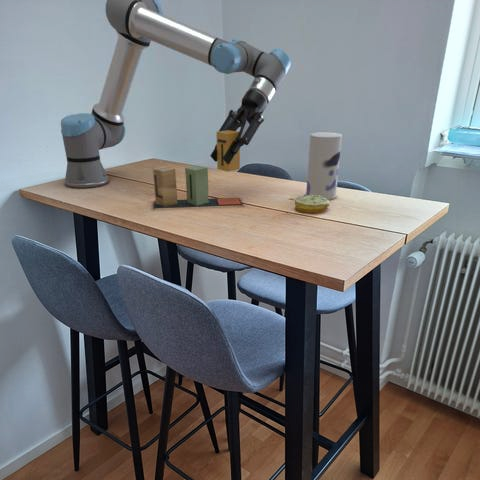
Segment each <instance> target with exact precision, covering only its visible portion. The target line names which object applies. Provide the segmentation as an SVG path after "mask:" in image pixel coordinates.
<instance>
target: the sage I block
mask: <svg viewBox="0 0 480 480" xmlns="http://www.w3.org/2000/svg"><path fill="white" fill-rule="evenodd" d="M184 170H185V171H184V173H185V188H186V189H185V190H186V199H187V203H190V204H193V205H196V206H198V205H202V204H206V203H209V199H210V197H209V168H208V167H206V166H202V165H192V166H187V167H185V168H184Z"/></svg>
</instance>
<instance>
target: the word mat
mask: <svg viewBox="0 0 480 480" xmlns="http://www.w3.org/2000/svg"><path fill="white" fill-rule="evenodd" d="M153 201H154V202H153V209H154V210H155V209H157V210H158V209H179V208H180V209H181V208H184V209H185V208H209V207H237V206H243V203H242V201H241V198H240V197H217V198H213V197H212V198H209V203H206V204H202V205H198V206H196V205H193V204H190V203H187V198H185V199H177V202H178V204H175V205H171V206H167V207H164V206H161V205H158V204H156V200H155V199H154V200H153Z"/></svg>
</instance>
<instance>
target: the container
mask: <svg viewBox="0 0 480 480" xmlns="http://www.w3.org/2000/svg"><path fill="white" fill-rule="evenodd" d="M342 140H343V134H342V133H339V132H330V131H329V132H328V131H318V132H312V133H310V136H309V147H308V148H309V151H308V163H307V164H308V165H307V177H306V189H305V195H319V196H322V197H325V198H326V199H327V200H328V201H330V200H333V199H336V197H337V187H338V178H339V169H340V161H341V160H340V157H341V149H342Z"/></svg>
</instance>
